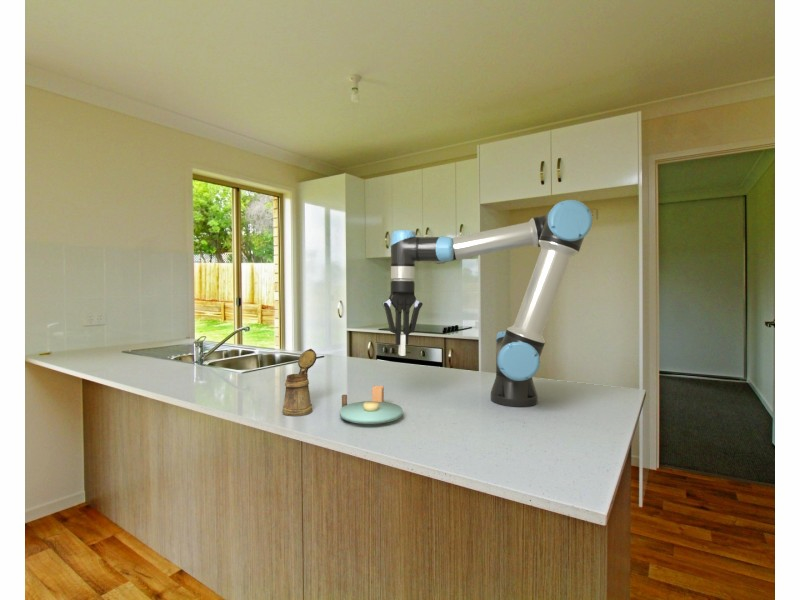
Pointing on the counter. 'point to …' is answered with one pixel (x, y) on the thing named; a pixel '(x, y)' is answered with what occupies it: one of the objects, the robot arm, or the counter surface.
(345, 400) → the dowel
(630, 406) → the counter surface
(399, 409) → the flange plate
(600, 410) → the counter surface
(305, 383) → the wooden mug
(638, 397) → the counter surface
